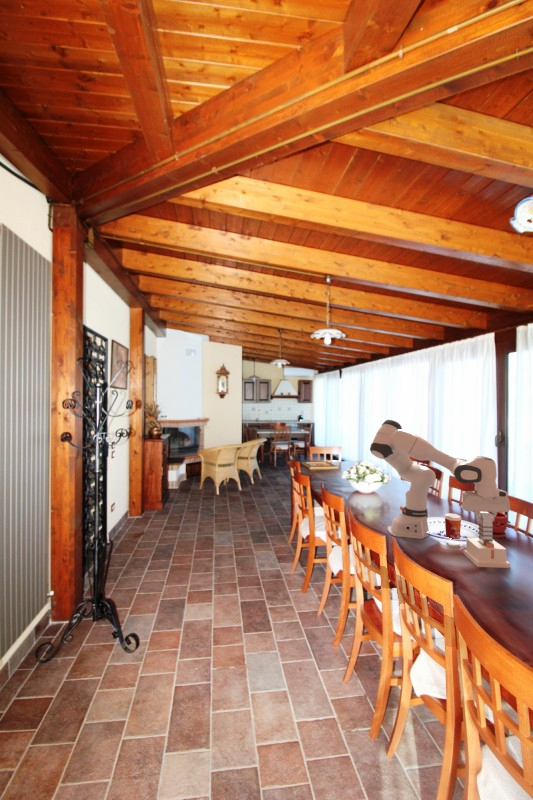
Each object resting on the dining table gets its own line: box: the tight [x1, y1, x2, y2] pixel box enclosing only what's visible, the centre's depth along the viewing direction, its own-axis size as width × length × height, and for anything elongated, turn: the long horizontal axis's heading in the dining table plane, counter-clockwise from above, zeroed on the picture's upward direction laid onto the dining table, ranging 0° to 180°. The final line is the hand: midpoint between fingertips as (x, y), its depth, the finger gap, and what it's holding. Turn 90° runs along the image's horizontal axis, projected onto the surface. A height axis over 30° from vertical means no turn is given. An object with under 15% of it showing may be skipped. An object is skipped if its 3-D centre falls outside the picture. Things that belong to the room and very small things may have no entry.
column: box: [477, 511, 494, 546], centre depth 171 cm, size 4×4×22 cm
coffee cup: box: [443, 513, 462, 540], centre depth 191 cm, size 8×8×15 cm
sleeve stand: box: [462, 537, 511, 569], centre depth 171 cm, size 14×14×10 cm
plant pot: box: [489, 512, 509, 539], centre depth 203 cm, size 13×13×12 cm
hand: (485, 520), depth 171 cm, fingers closed on column, 4 cm apart
